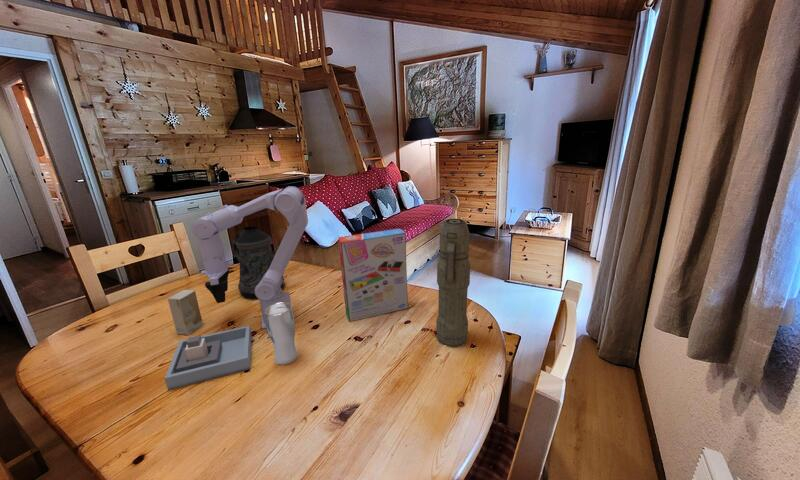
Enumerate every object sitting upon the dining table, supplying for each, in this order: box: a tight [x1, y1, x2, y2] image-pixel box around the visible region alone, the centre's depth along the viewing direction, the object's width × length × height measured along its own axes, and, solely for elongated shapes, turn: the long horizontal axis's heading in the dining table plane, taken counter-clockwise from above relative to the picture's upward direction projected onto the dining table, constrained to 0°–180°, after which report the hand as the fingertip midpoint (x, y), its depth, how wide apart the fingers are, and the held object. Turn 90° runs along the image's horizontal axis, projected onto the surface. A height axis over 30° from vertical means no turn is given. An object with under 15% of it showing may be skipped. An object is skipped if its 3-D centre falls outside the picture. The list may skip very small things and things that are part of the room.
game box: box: [338, 228, 409, 323], centre depth 105 cm, size 21×6×27 cm, turn 110°
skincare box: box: [167, 289, 204, 336], centre depth 101 cm, size 6×4×12 cm
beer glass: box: [264, 302, 299, 366], centre depth 86 cm, size 7×7×15 cm
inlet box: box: [164, 325, 253, 391], centre depth 88 cm, size 18×16×4 cm
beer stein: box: [231, 226, 285, 301], centre depth 123 cm, size 16×19×25 cm
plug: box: [185, 334, 209, 362], centre depth 86 cm, size 4×4×7 cm
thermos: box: [435, 218, 471, 348], centre depth 89 cm, size 9×12×35 cm
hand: (222, 296), depth 101 cm, fingers open, 7 cm apart
